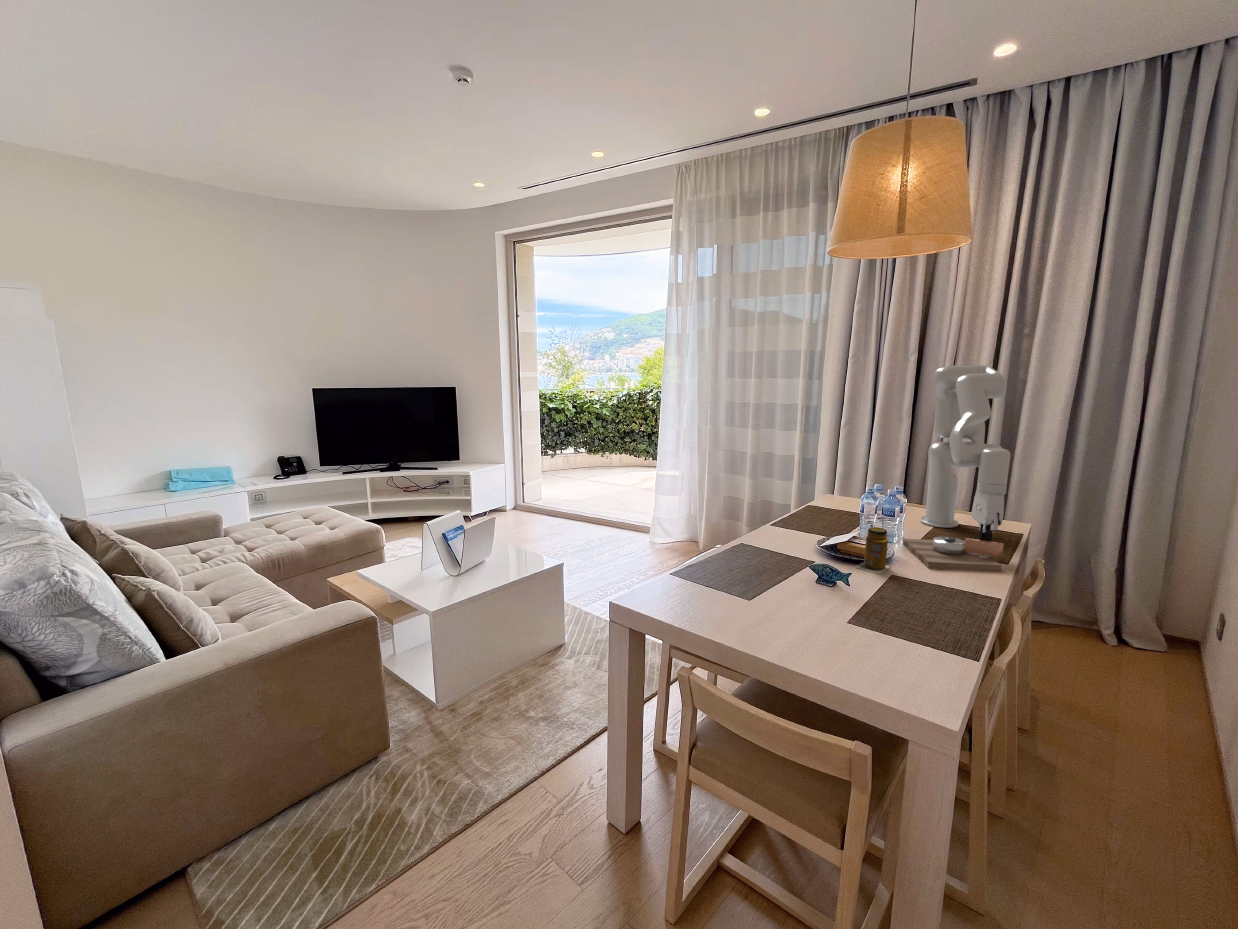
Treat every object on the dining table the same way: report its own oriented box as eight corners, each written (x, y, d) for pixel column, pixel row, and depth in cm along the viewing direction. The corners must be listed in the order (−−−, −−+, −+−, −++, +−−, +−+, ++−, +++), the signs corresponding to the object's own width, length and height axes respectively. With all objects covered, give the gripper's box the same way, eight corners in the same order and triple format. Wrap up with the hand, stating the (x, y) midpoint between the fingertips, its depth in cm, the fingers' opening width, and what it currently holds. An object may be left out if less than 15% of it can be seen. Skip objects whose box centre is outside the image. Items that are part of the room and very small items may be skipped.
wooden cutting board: (902, 544, 183) (903, 538, 182) (966, 546, 179) (967, 540, 179) (928, 568, 161) (928, 561, 161) (1001, 571, 158) (1002, 564, 158)
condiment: (890, 566, 163) (893, 529, 161) (879, 574, 158) (883, 535, 155) (866, 560, 168) (869, 524, 166) (855, 568, 163) (857, 530, 160)
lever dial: (931, 551, 169) (932, 538, 168) (933, 543, 176) (934, 530, 175) (1002, 562, 159) (1004, 548, 158) (1001, 553, 166) (1002, 539, 165)
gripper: (966, 481, 174) (960, 535, 177) (990, 493, 159) (983, 551, 163) (992, 482, 172) (985, 536, 176) (1018, 494, 158) (1010, 552, 162)
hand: (984, 543), depth 169 cm, fingers closed
